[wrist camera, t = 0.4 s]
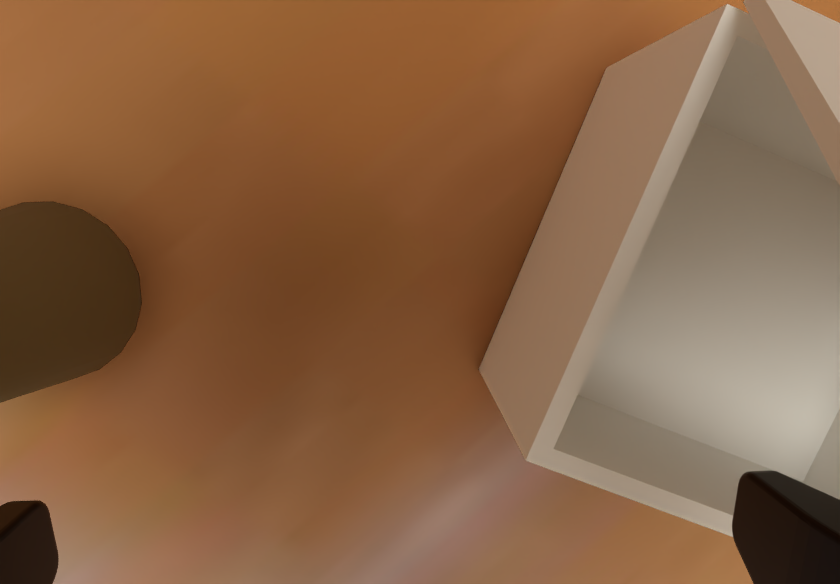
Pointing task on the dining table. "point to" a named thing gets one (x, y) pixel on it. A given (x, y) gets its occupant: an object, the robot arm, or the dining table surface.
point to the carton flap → (806, 65)
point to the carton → (682, 286)
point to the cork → (61, 296)
